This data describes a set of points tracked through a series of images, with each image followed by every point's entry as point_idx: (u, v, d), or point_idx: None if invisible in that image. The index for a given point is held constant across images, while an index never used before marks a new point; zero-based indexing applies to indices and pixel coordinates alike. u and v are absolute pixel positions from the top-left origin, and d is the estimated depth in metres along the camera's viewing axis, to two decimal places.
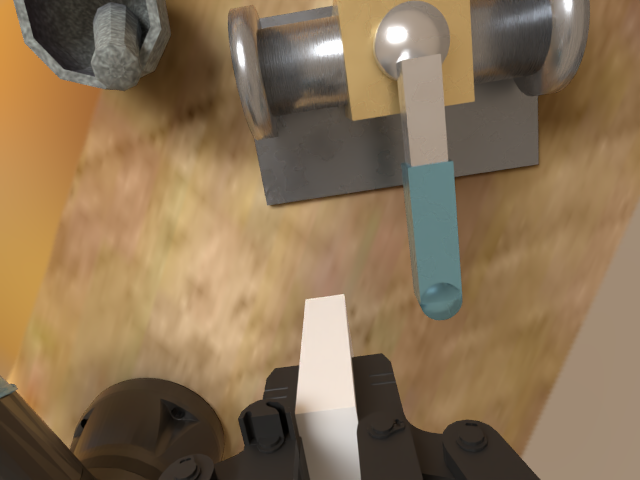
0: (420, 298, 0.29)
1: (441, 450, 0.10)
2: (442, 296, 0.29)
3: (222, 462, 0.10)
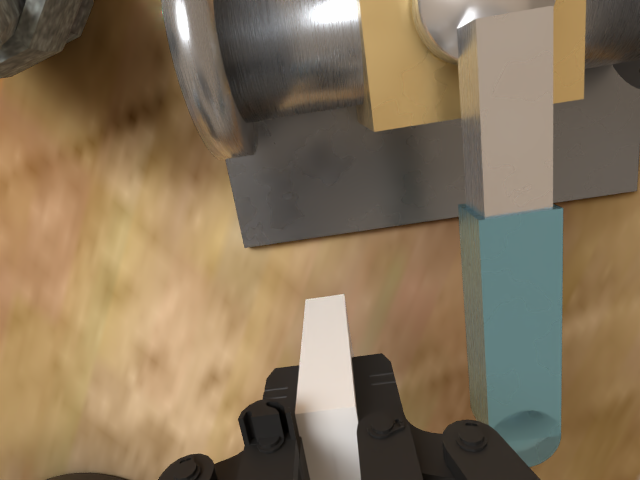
0: None
1: (441, 450, 0.10)
2: (527, 431, 0.17)
3: (222, 462, 0.10)
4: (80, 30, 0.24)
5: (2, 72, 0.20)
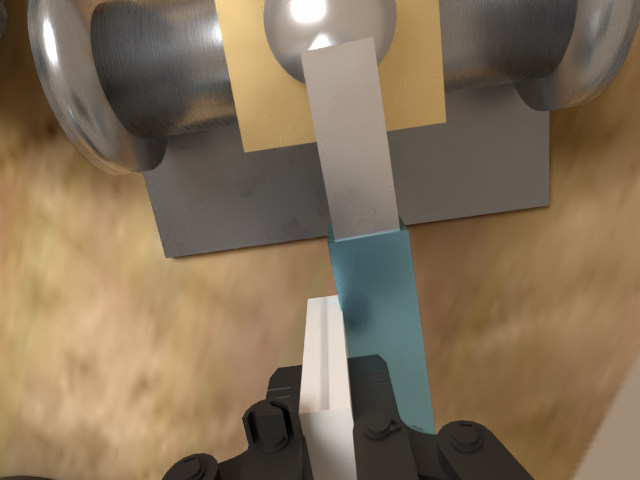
0: None
1: (436, 451, 0.10)
2: None
3: (226, 461, 0.10)
4: None
5: None
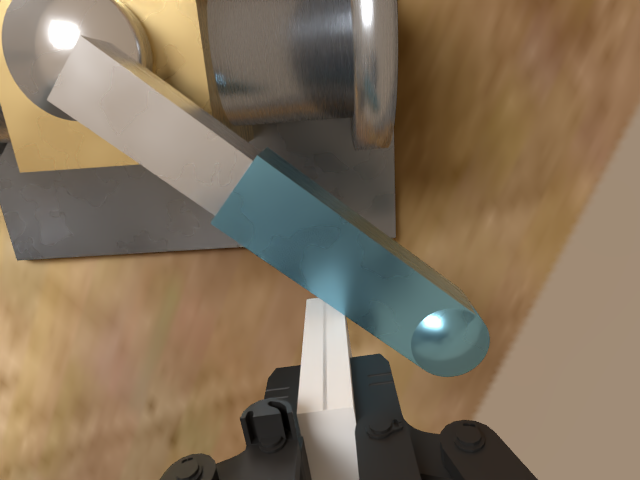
0: (416, 362, 0.16)
1: (439, 450, 0.10)
2: (444, 336, 0.15)
3: (224, 462, 0.10)
4: None
5: None
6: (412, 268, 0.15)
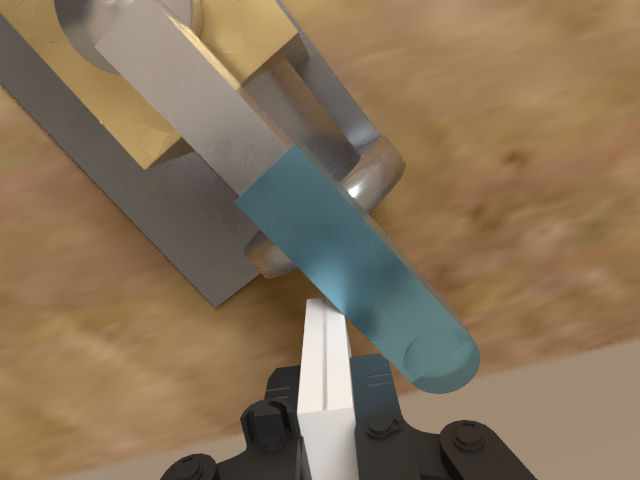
0: (405, 374, 0.16)
1: (439, 451, 0.10)
2: (437, 353, 0.16)
3: (224, 462, 0.10)
4: None
5: None
6: (420, 282, 0.15)
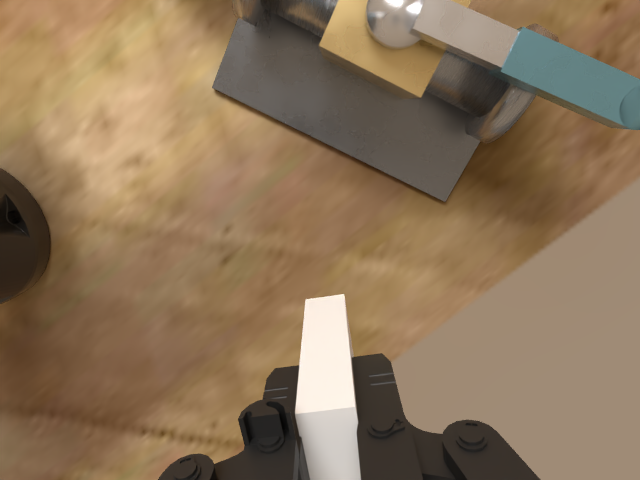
0: (623, 125, 0.28)
1: (441, 450, 0.10)
2: (637, 103, 0.27)
3: (222, 462, 0.10)
4: None
5: None
6: (613, 67, 0.27)
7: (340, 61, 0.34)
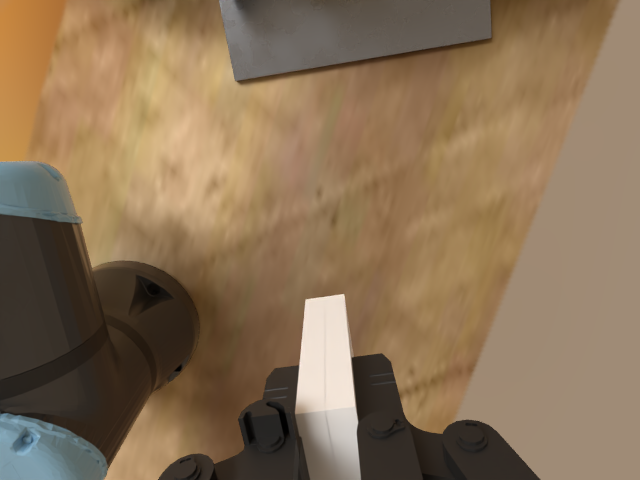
0: None
1: (441, 450, 0.10)
2: None
3: (222, 462, 0.10)
4: None
5: None
6: None
7: None
